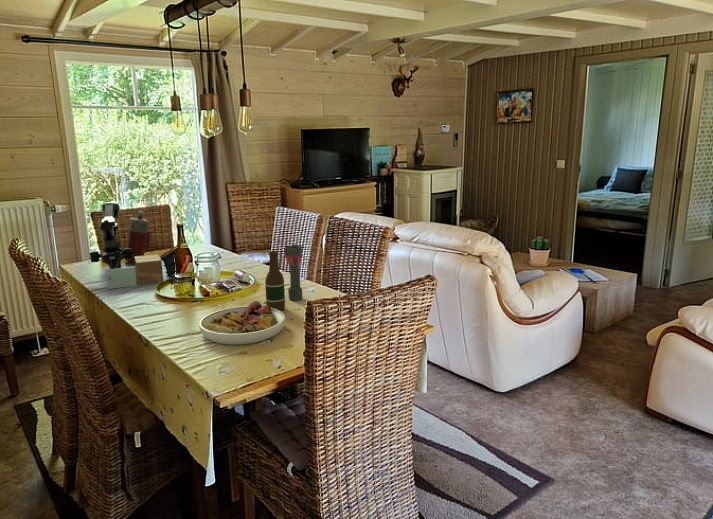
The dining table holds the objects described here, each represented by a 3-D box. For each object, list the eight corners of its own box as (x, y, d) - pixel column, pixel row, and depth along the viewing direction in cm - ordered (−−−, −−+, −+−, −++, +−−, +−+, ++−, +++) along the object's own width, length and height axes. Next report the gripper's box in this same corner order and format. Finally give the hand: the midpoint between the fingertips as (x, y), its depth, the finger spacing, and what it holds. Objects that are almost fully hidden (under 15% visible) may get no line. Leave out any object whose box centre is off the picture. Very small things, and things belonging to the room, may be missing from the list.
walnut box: (136, 278, 268) (134, 256, 265) (159, 275, 272) (157, 254, 270) (139, 285, 255) (136, 262, 252) (163, 282, 259) (161, 260, 257)
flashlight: (293, 294, 237) (291, 243, 232) (307, 297, 234) (305, 245, 228) (282, 299, 231) (279, 246, 226) (297, 301, 227) (294, 248, 222)
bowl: (269, 350, 177) (268, 328, 175) (184, 345, 182) (182, 323, 181) (295, 320, 206) (294, 300, 204) (221, 316, 211) (220, 297, 209)
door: (107, 290, 247) (105, 270, 245) (107, 289, 249) (105, 269, 247) (138, 285, 253) (136, 266, 251) (138, 284, 255) (136, 265, 253)
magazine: (195, 269, 277) (181, 245, 270) (174, 284, 271) (158, 260, 264) (192, 267, 280) (178, 244, 273) (171, 282, 274) (155, 258, 267)
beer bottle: (289, 307, 220) (286, 250, 214) (280, 313, 213) (277, 254, 207) (272, 305, 222) (269, 248, 217) (262, 311, 215) (259, 253, 210)
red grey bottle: (147, 263, 301) (154, 213, 298) (125, 261, 295) (133, 210, 292) (145, 260, 309) (152, 211, 305) (124, 257, 303) (131, 208, 300)
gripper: (87, 235, 254) (90, 263, 247) (130, 231, 262) (134, 258, 255) (89, 248, 262) (92, 275, 255) (130, 244, 270) (134, 270, 263)
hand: (113, 270), depth 257 cm, fingers closed
